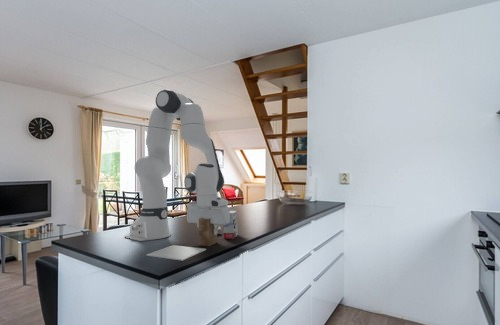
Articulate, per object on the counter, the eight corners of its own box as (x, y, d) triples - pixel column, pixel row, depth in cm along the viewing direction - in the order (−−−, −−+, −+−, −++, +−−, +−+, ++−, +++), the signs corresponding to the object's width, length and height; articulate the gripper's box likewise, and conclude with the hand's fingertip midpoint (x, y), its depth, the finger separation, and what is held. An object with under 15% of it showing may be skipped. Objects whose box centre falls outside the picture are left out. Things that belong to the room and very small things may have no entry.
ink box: (233, 239, 122) (232, 212, 123) (223, 239, 123) (222, 212, 124) (238, 234, 131) (237, 210, 131) (228, 234, 132) (227, 210, 132)
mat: (146, 255, 101) (146, 254, 101) (172, 246, 114) (172, 245, 114) (182, 260, 94) (182, 259, 94) (206, 249, 107) (206, 248, 107)
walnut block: (199, 245, 114) (198, 218, 115) (207, 241, 120) (206, 215, 120) (209, 246, 112) (208, 218, 112) (217, 242, 117) (216, 216, 118)
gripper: (183, 201, 118) (183, 233, 118) (223, 202, 109) (224, 237, 109) (192, 200, 124) (193, 230, 123) (231, 200, 115) (232, 233, 114)
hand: (208, 234), depth 116 cm, fingers closed on walnut block, 5 cm apart
